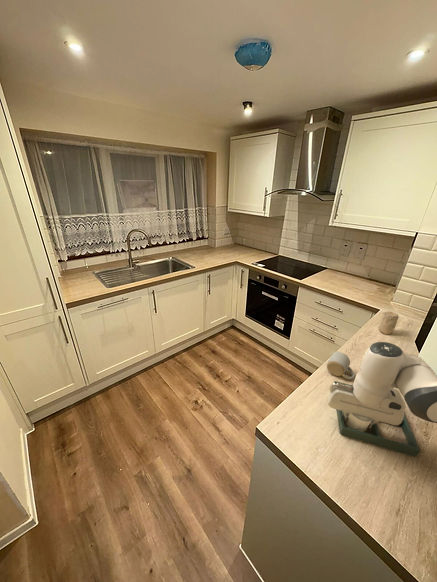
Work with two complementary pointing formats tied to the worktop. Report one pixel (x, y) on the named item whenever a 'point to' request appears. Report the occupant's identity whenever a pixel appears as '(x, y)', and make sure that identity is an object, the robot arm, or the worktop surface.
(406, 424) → the rack
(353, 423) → the shot glass
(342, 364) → the ceramic mug
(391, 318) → the carving
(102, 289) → the worktop surface
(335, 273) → the worktop surface
